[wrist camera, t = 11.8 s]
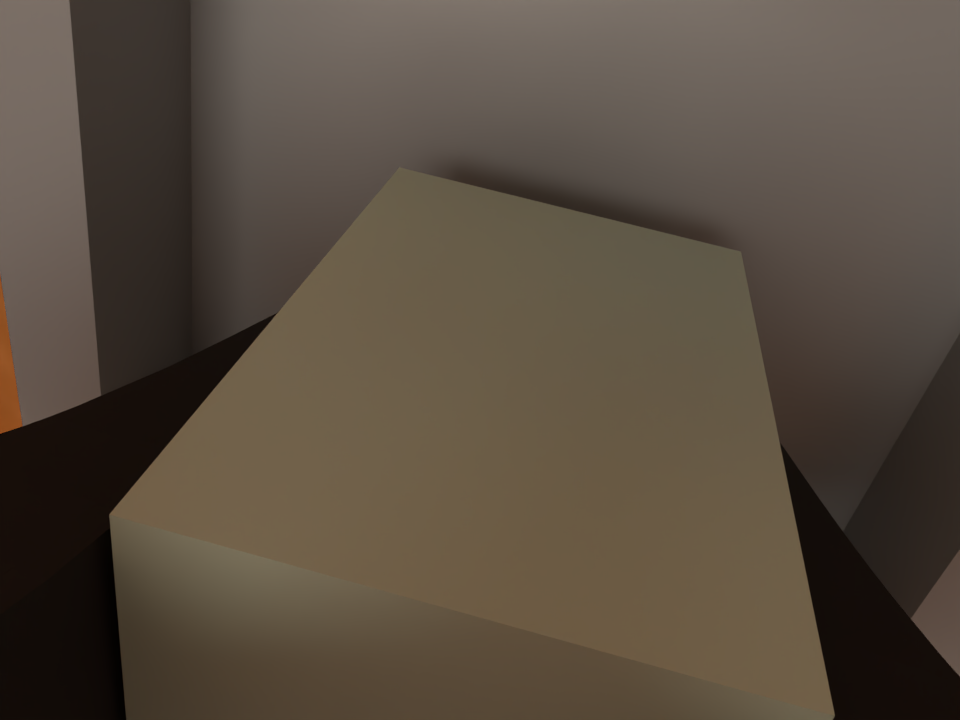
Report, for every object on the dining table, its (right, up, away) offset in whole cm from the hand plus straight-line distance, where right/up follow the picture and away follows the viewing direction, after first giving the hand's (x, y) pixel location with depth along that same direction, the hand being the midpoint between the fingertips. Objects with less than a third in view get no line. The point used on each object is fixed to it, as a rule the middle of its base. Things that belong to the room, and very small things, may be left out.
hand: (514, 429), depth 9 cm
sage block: (0, +1, +1) cm, 2 cm away
